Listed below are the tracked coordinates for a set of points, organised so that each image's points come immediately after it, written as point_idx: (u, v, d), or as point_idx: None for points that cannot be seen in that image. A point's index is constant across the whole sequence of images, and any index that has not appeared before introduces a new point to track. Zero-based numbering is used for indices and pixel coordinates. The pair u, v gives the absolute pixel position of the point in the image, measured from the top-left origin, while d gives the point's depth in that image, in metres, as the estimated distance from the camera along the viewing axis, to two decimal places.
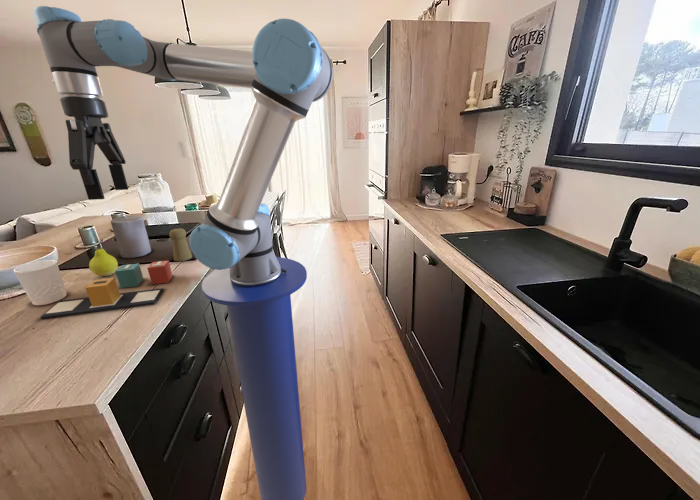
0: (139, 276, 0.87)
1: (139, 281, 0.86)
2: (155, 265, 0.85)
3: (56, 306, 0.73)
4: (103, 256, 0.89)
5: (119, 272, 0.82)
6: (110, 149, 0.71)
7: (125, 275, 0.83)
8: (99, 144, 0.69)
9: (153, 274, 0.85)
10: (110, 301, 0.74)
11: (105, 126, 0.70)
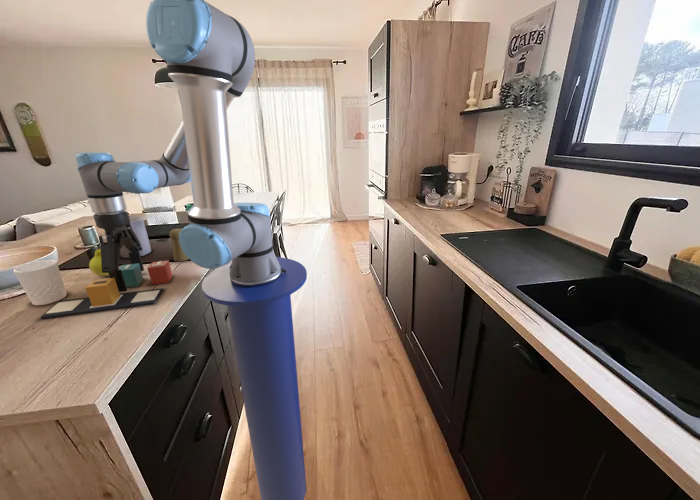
0: (139, 276, 0.87)
1: (139, 281, 0.86)
2: (155, 265, 0.85)
3: (56, 306, 0.73)
4: None
5: None
6: (130, 243, 0.87)
7: (125, 275, 0.83)
8: None
9: (153, 274, 0.85)
10: (110, 301, 0.74)
11: (127, 225, 0.86)
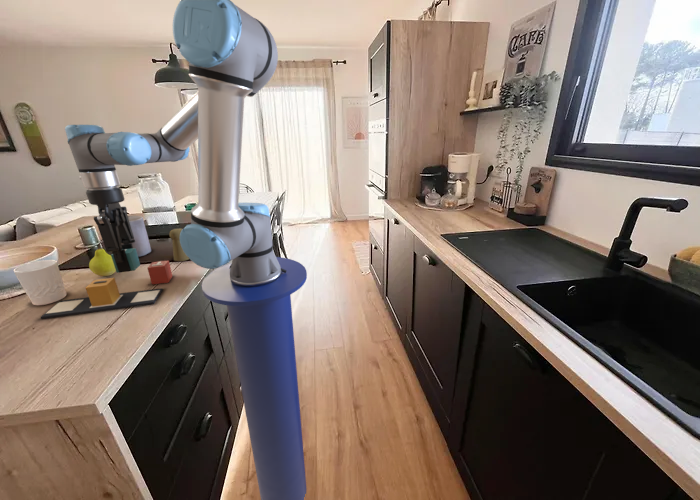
0: (136, 261, 0.85)
1: (135, 266, 0.84)
2: (155, 265, 0.85)
3: (56, 306, 0.73)
4: (103, 256, 0.89)
5: None
6: (123, 228, 0.82)
7: None
8: None
9: (153, 274, 0.85)
10: (110, 301, 0.74)
11: (122, 208, 0.84)
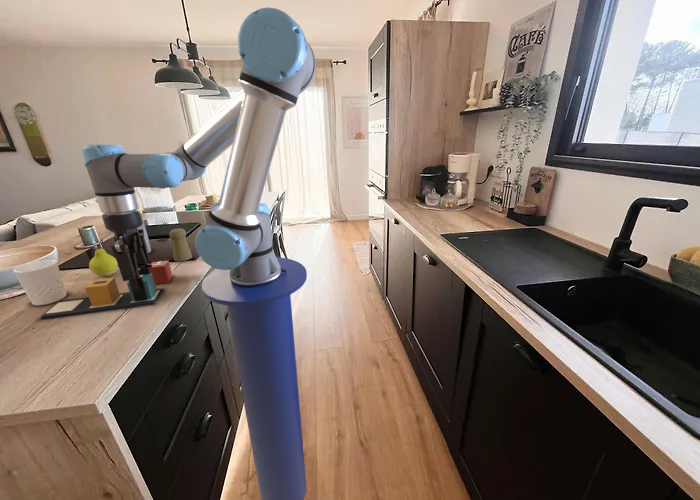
0: (153, 288, 0.78)
1: (152, 293, 0.78)
2: (155, 265, 0.85)
3: (56, 306, 0.73)
4: (103, 256, 0.89)
5: None
6: (140, 253, 0.76)
7: None
8: (131, 249, 0.75)
9: (153, 274, 0.85)
10: (110, 301, 0.74)
11: (139, 231, 0.77)
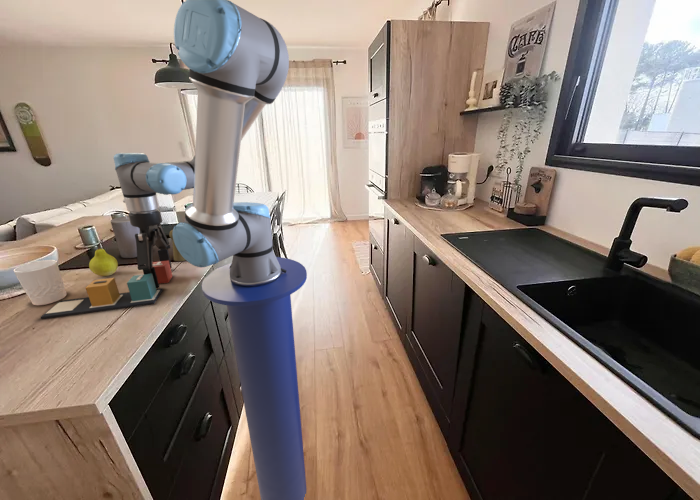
0: (153, 288, 0.78)
1: (152, 293, 0.78)
2: (155, 265, 0.85)
3: (56, 306, 0.73)
4: (103, 256, 0.89)
5: (131, 284, 0.74)
6: (160, 241, 0.89)
7: (138, 287, 0.75)
8: None
9: None
10: (110, 301, 0.74)
11: None
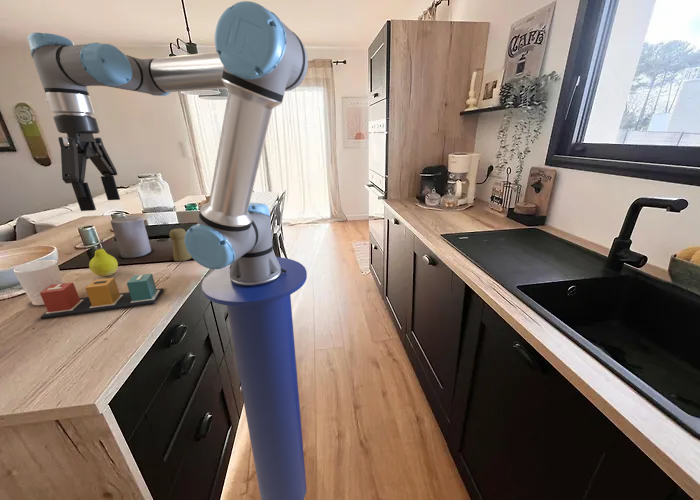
0: (153, 288, 0.78)
1: (152, 293, 0.78)
2: (51, 289, 0.70)
3: None
4: (103, 256, 0.89)
5: (131, 284, 0.74)
6: (102, 162, 0.75)
7: (138, 287, 0.75)
8: (91, 158, 0.74)
9: (48, 300, 0.70)
10: (110, 301, 0.74)
11: (97, 140, 0.74)
